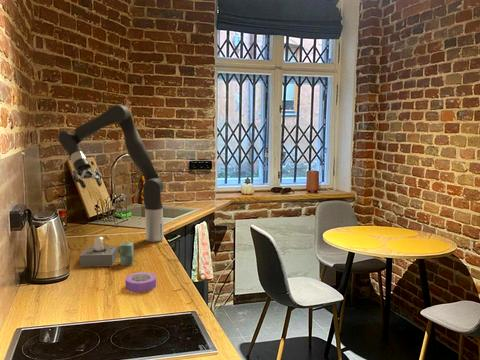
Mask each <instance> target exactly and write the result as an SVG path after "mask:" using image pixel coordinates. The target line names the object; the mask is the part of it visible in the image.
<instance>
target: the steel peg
mask: <svg viewBox="0 0 480 360" xmlns="http://www.w3.org/2000/svg"><path fill="white" fill-rule="evenodd" d="M93 242H94V244H93V246H95V252H104V246H105V243H104V236H95V237H94V238H93Z"/></svg>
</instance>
